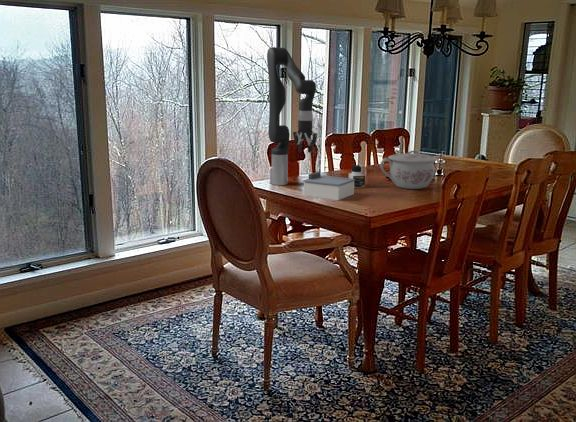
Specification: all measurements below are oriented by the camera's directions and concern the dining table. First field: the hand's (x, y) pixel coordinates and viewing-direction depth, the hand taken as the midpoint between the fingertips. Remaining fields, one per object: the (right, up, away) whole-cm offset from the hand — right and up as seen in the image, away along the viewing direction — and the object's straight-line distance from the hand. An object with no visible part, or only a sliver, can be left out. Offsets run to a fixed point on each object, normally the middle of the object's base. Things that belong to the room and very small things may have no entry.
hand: (304, 151), depth 293 cm
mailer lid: (+13, -16, -5) cm, 21 cm away
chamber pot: (+60, -18, +20) cm, 66 cm away
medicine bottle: (+30, -18, +20) cm, 40 cm away
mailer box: (+13, -23, -3) cm, 26 cm away
